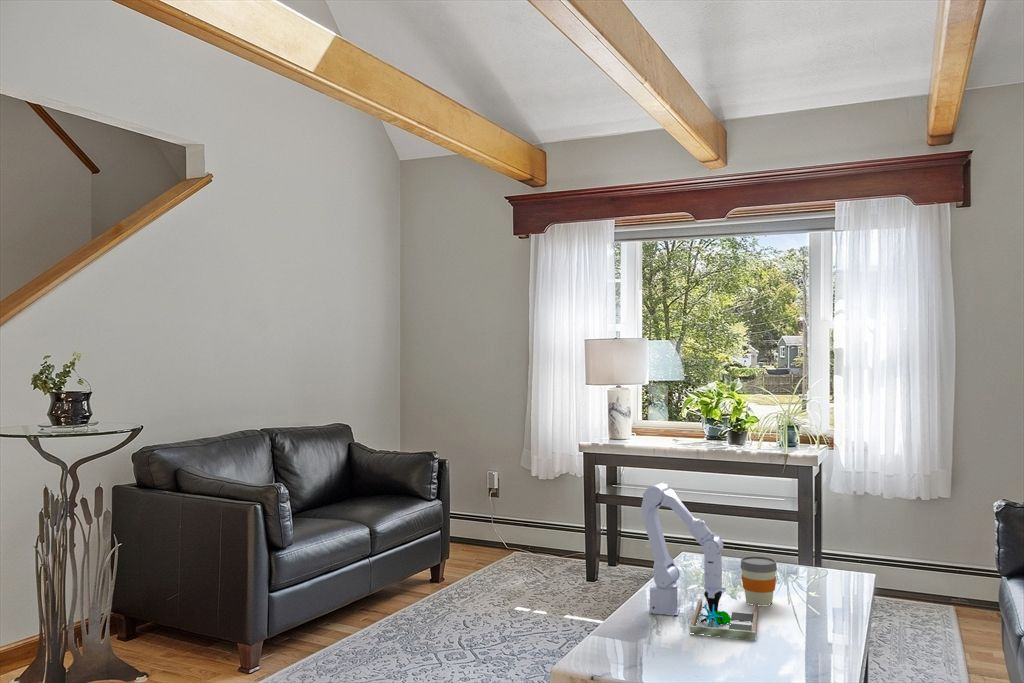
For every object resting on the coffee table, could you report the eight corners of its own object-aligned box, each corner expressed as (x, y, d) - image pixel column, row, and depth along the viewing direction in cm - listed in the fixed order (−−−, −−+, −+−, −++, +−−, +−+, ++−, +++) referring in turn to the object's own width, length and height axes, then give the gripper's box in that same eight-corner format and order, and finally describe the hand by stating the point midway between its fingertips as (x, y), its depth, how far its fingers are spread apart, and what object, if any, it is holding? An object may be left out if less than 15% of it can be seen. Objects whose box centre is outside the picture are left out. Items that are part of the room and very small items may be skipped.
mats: (728, 632, 266) (728, 631, 266) (732, 612, 285) (732, 612, 285) (751, 634, 264) (750, 633, 264) (753, 614, 283) (753, 613, 283)
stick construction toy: (707, 624, 267) (702, 601, 272) (693, 631, 271) (689, 608, 276) (735, 629, 272) (730, 606, 277) (721, 636, 276) (716, 613, 281)
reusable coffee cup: (738, 605, 293) (738, 563, 293) (743, 595, 304) (742, 554, 305) (776, 609, 288) (775, 566, 288) (778, 599, 300) (778, 557, 300)
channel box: (690, 634, 264) (690, 626, 264) (699, 606, 293) (699, 599, 293) (755, 640, 258) (755, 632, 258) (758, 611, 286) (758, 603, 286)
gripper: (723, 579, 270) (724, 621, 270) (726, 568, 284) (727, 608, 284) (701, 578, 273) (702, 619, 273) (705, 566, 286) (706, 606, 286)
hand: (713, 613), depth 278 cm, fingers closed
